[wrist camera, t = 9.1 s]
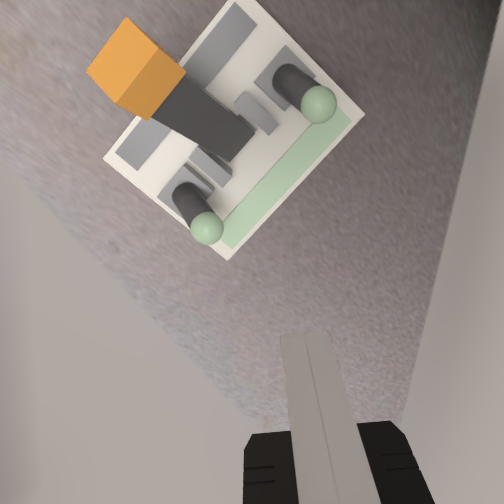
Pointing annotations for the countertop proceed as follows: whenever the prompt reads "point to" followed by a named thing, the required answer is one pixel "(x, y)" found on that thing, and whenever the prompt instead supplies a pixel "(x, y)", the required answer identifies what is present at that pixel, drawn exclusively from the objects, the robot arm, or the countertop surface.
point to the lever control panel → (256, 113)
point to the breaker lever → (166, 92)
